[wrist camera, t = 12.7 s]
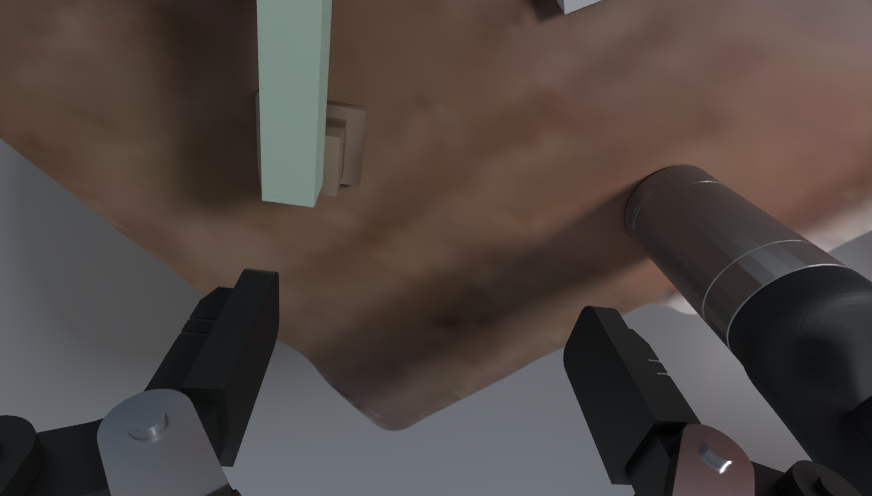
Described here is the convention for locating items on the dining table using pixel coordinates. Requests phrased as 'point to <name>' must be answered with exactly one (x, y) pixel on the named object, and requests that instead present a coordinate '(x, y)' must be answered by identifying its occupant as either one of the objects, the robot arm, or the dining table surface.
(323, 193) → the post
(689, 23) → the dining table surface
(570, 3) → the decorative molding
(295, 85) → the green rail
